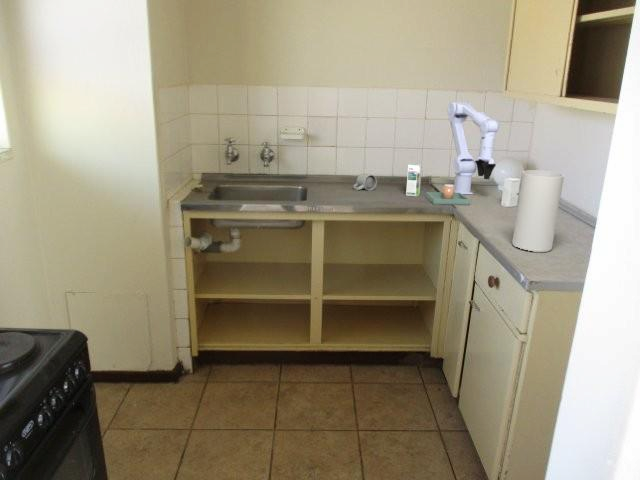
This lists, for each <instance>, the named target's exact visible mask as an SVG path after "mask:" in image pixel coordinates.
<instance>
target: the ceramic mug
mask: <svg viewBox="0 0 640 480" xmlns="http://www.w3.org/2000/svg"><path fill="white" fill-rule="evenodd" d="M377 180H378V179H377V177H376V176H375V175H374V174H370V173H361V174H359V175H358V176H357V177H356V183H354V184H353V186H352V187H353V190H355V191H360V190H363V189H364V190H366V191H373V190H374V189H375V188H376V187H377V184H378V181H377Z"/></svg>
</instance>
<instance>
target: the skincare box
mask: <svg viewBox="0 0 640 480" xmlns="http://www.w3.org/2000/svg"><path fill="white" fill-rule="evenodd" d="M520 185H521V178H517V177H507V178H506V177H505V178H504V180H503V187H502V193H501V194H502V196H501V204H500V205H501V206H502V207H505V208H512V207H517V206H518V199H519V192H520Z"/></svg>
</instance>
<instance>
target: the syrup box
mask: <svg viewBox="0 0 640 480" xmlns="http://www.w3.org/2000/svg"><path fill="white" fill-rule="evenodd" d="M422 167H423V164H417V163H416V164H415V163H409V164H408V165H407V175H406V191H405V196H409V197H419V195H420V193H421V192H420V190H421V181H422V172H423V171H422V170H423V169H422Z"/></svg>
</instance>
